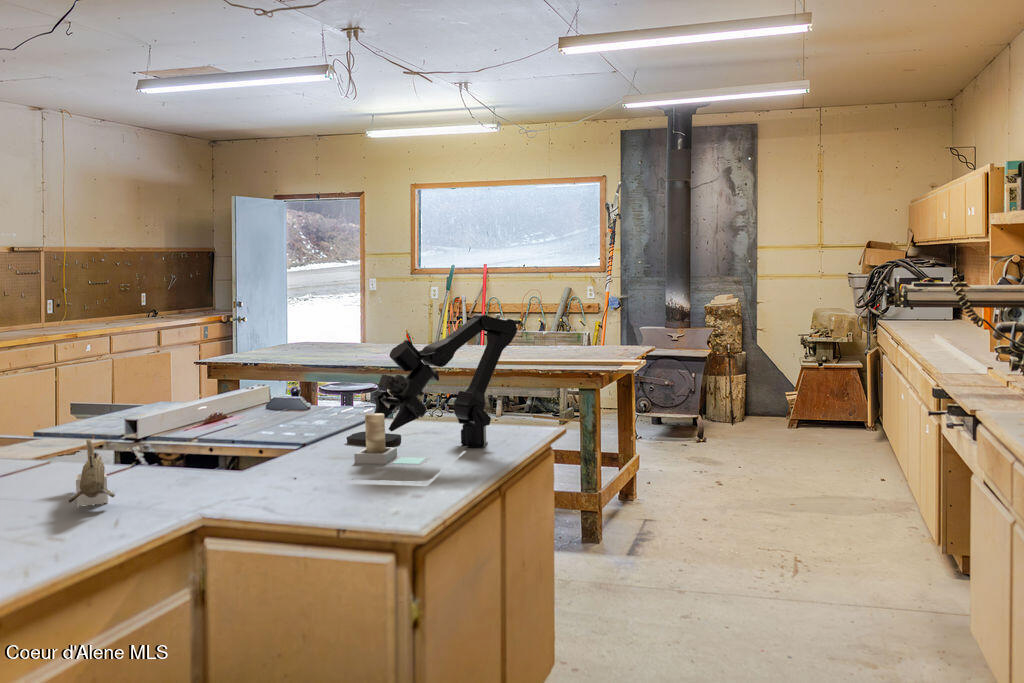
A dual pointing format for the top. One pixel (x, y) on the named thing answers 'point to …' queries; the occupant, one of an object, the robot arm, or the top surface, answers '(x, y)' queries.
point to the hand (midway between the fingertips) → (380, 428)
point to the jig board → (387, 458)
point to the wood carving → (92, 481)
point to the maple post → (375, 433)
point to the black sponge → (361, 439)
